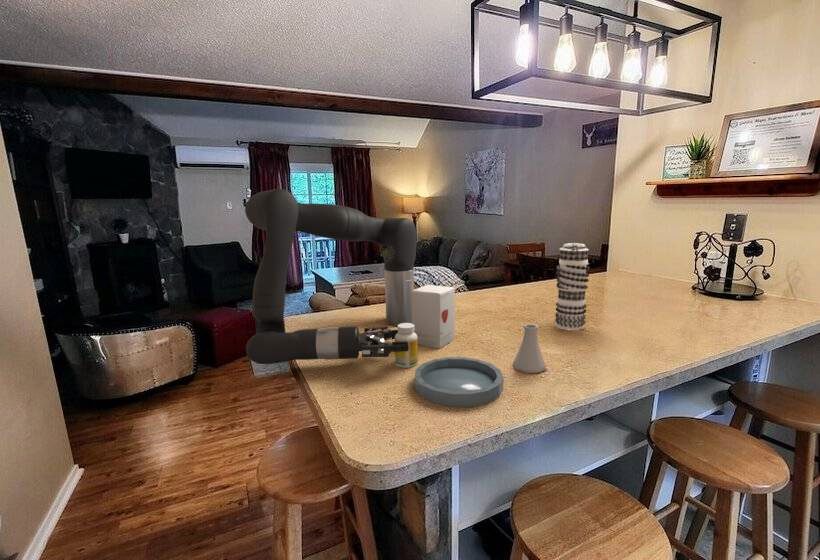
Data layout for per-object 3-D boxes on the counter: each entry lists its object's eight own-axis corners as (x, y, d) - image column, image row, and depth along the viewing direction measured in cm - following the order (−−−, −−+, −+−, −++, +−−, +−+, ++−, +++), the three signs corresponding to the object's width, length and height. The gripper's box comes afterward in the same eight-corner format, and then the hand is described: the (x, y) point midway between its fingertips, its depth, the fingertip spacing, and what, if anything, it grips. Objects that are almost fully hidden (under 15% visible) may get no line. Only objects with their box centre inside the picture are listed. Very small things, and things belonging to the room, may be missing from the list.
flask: (552, 371, 89) (554, 328, 87) (524, 376, 87) (525, 332, 85) (534, 360, 96) (535, 320, 94) (507, 363, 94) (508, 323, 92)
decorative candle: (593, 327, 119) (598, 243, 115) (573, 333, 114) (578, 246, 110) (566, 320, 127) (571, 241, 122) (547, 325, 122) (551, 243, 117)
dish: (434, 363, 95) (434, 352, 95) (510, 375, 87) (510, 364, 87) (400, 395, 79) (400, 383, 79) (489, 414, 72) (489, 401, 71)
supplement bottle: (396, 369, 92) (394, 329, 90) (394, 360, 98) (393, 322, 96) (419, 367, 93) (418, 328, 91) (416, 358, 98) (415, 321, 96)
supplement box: (440, 349, 104) (439, 293, 101) (411, 343, 109) (410, 290, 106) (455, 339, 112) (455, 286, 109) (428, 334, 116) (427, 284, 113)
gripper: (333, 337, 85) (409, 334, 86) (340, 318, 99) (405, 316, 100) (335, 370, 87) (409, 366, 88) (341, 347, 101) (405, 344, 102)
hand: (407, 339), depth 94 cm, fingers open, 8 cm apart
